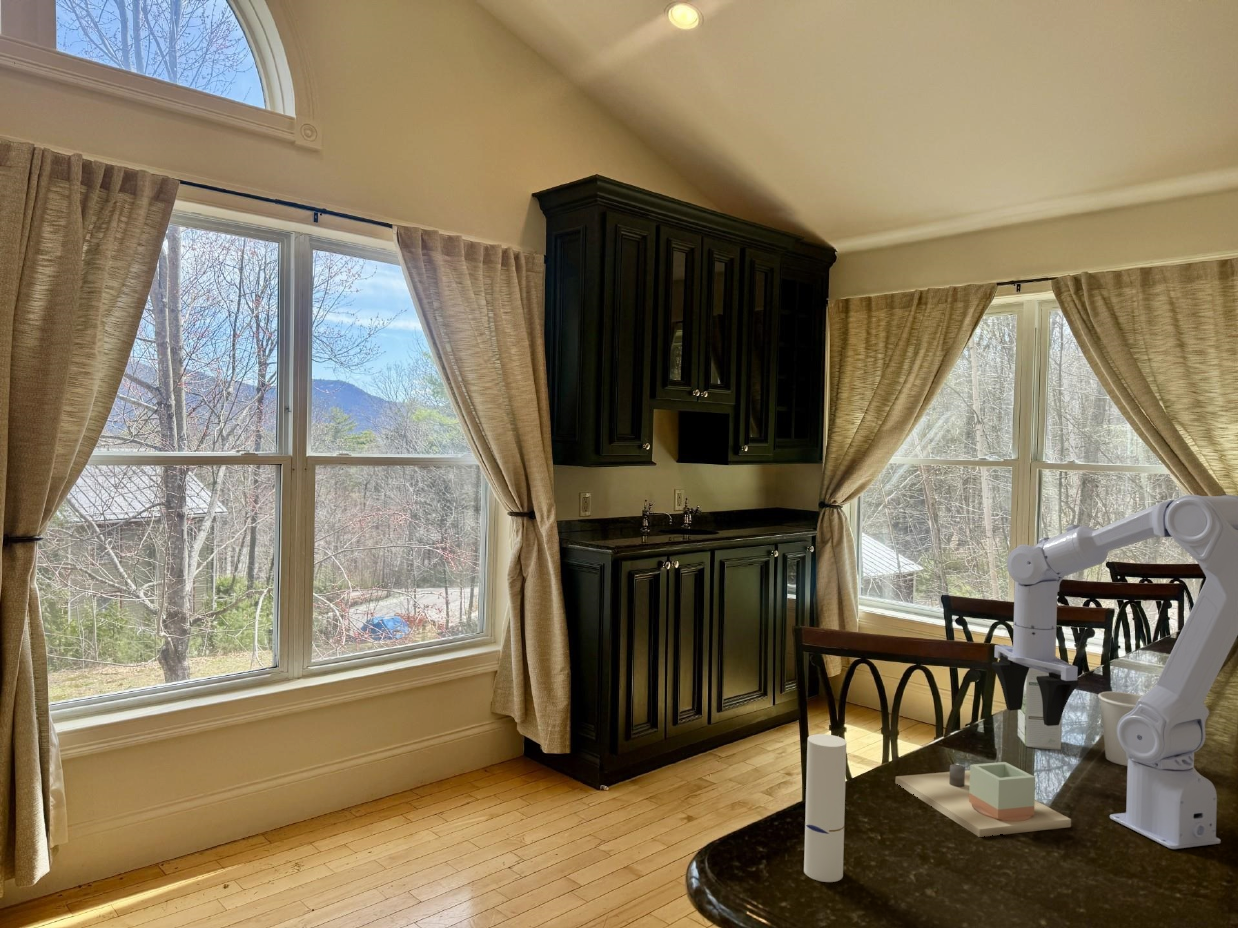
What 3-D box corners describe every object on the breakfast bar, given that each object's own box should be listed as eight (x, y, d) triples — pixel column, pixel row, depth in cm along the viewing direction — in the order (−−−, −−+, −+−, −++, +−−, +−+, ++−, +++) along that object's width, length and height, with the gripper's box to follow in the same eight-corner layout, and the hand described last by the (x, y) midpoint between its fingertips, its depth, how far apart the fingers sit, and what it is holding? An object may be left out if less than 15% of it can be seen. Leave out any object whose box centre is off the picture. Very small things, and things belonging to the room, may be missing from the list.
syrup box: (1062, 750, 140) (1065, 662, 140) (1024, 746, 141) (1026, 660, 141) (1052, 739, 146) (1054, 655, 146) (1015, 736, 147) (1017, 652, 147)
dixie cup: (1166, 772, 131) (1168, 707, 131) (1107, 766, 133) (1108, 703, 133) (1144, 754, 139) (1146, 693, 139) (1088, 749, 141) (1090, 689, 141)
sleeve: (1034, 815, 110) (1035, 776, 110) (997, 818, 109) (998, 780, 109) (1004, 798, 116) (1005, 761, 116) (969, 801, 114) (970, 764, 114)
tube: (836, 863, 98) (840, 734, 98) (847, 881, 94) (851, 746, 94) (799, 863, 98) (803, 733, 98) (809, 881, 94) (813, 746, 94)
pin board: (1070, 826, 110) (1071, 799, 110) (979, 836, 106) (980, 809, 106) (976, 775, 127) (977, 752, 127) (895, 783, 124) (896, 759, 123)
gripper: (979, 617, 132) (976, 704, 132) (1049, 636, 118) (1046, 733, 118) (1016, 616, 134) (1014, 702, 134) (1090, 635, 120) (1088, 730, 120)
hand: (1032, 716), depth 126 cm, fingers open, 7 cm apart
